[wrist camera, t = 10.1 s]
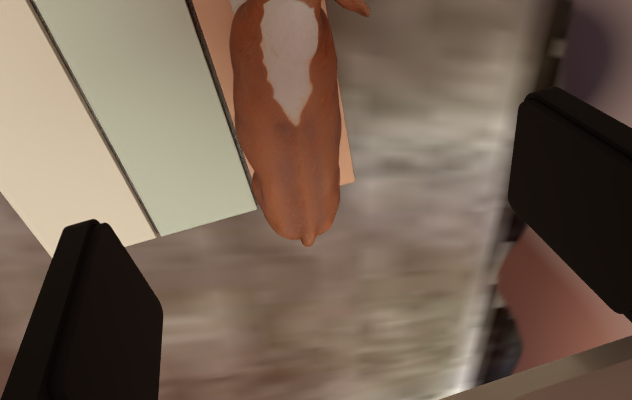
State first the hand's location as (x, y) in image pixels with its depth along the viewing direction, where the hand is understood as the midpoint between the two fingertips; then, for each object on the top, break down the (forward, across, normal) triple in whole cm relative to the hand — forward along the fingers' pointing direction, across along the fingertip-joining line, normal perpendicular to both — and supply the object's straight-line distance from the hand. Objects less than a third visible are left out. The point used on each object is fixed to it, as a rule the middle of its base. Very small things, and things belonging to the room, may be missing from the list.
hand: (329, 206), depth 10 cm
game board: (+13, +6, +1) cm, 15 cm away
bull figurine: (+13, 0, +1) cm, 13 cm away
